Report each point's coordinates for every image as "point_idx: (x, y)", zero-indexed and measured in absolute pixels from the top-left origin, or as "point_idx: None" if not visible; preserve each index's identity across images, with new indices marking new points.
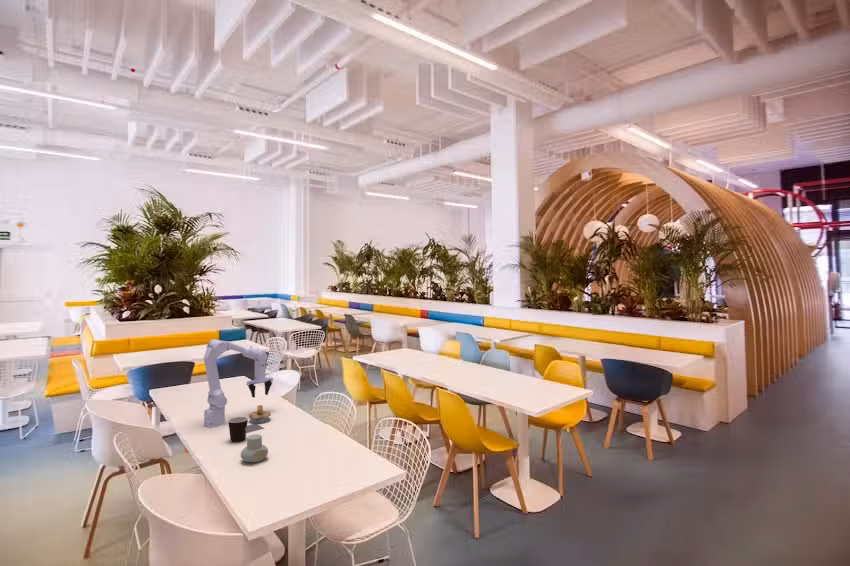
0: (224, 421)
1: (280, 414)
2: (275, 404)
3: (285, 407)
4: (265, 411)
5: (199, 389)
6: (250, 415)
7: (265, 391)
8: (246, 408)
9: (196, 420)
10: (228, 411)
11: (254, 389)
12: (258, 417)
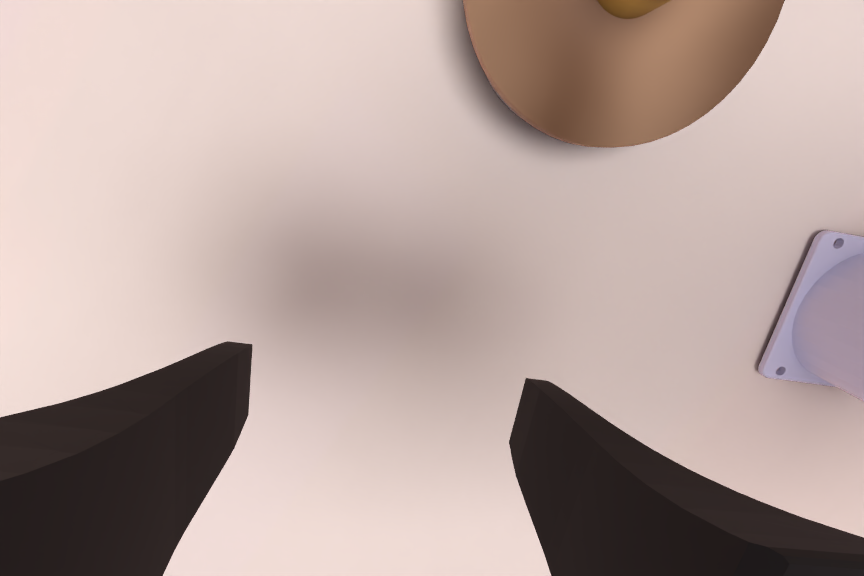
0: (840, 275)
1: (242, 25)
2: None
3: (37, 238)
4: (489, 27)
5: None
6: (737, 49)
7: (221, 448)
8: (387, 518)
9: (829, 524)
10: (541, 550)
11: (663, 479)
12: None
